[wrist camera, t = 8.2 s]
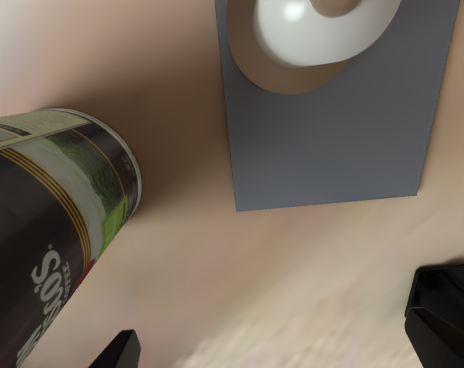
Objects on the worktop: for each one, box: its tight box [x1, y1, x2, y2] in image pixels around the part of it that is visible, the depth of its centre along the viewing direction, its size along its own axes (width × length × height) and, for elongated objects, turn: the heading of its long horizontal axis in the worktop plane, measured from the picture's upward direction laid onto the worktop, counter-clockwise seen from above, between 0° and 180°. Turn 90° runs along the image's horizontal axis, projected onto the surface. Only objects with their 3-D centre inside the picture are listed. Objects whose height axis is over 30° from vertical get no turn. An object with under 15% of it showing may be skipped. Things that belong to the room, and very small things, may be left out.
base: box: [226, 0, 350, 95], centre depth 13 cm, size 7×7×2 cm
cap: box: [252, 0, 401, 69], centre depth 10 cm, size 4×4×6 cm
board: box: [215, 0, 460, 212], centre depth 16 cm, size 16×14×1 cm
